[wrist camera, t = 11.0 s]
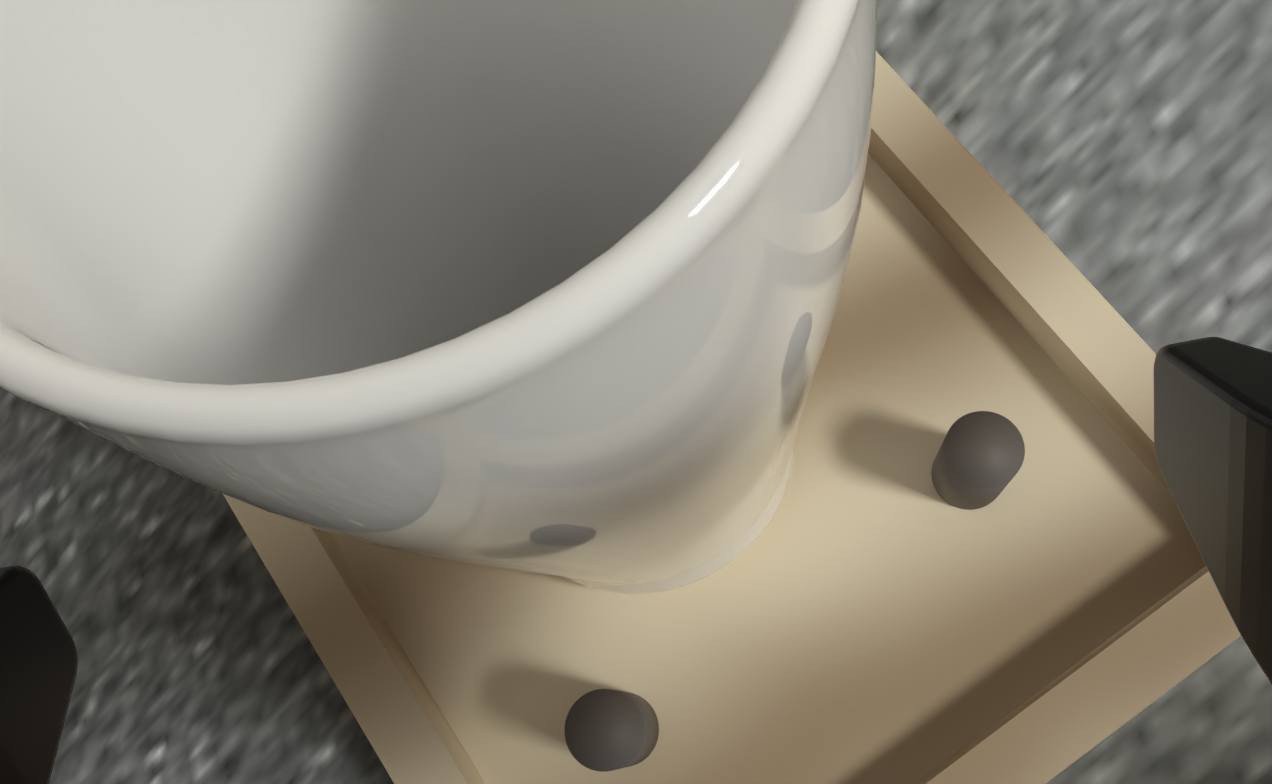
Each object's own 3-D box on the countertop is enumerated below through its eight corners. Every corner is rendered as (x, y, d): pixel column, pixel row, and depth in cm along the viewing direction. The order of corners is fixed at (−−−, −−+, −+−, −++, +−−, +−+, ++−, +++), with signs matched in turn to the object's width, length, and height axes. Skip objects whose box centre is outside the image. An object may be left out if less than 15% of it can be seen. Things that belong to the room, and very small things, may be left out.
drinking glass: (422, 328, 22) (-275, -373, 8) (772, 220, 22) (697, -724, 8) (505, 689, 20) (-226, 614, 6) (890, 578, 20) (1092, 214, 6)
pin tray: (1292, 573, 20) (1373, 548, 17) (616, 1083, 19) (583, 1147, 17) (726, -53, 25) (716, -155, 22) (168, 341, 24) (82, 290, 21)
